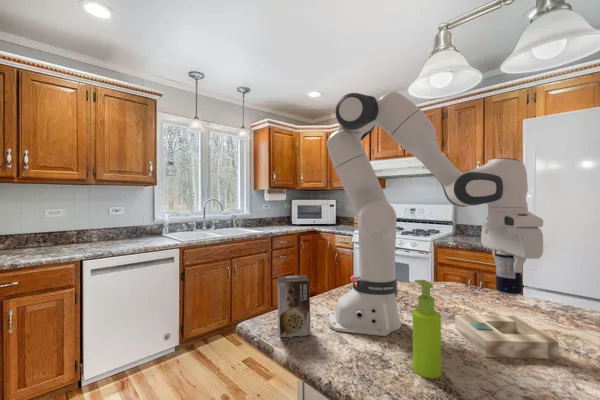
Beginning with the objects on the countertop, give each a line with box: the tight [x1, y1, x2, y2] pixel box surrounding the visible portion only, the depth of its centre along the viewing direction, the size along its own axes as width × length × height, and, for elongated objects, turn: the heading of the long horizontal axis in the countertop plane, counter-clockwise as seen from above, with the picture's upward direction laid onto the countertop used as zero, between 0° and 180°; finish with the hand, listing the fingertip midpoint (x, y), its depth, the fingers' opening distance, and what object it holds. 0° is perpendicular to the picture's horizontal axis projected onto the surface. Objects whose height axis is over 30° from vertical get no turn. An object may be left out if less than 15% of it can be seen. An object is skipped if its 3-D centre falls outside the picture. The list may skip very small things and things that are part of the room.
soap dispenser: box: [412, 279, 442, 379], centre depth 66 cm, size 6×7×20 cm
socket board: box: [454, 314, 560, 360], centre depth 78 cm, size 17×16×4 cm
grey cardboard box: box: [276, 274, 312, 338], centre depth 85 cm, size 9×6×16 cm
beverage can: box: [495, 249, 523, 297], centre depth 78 cm, size 6×6×12 cm
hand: (508, 268), depth 78 cm, fingers closed on beverage can, 6 cm apart
